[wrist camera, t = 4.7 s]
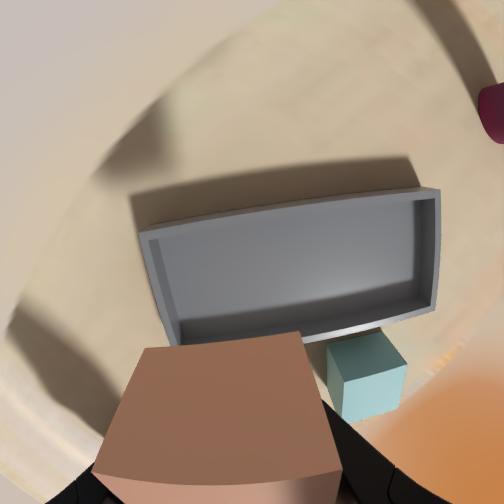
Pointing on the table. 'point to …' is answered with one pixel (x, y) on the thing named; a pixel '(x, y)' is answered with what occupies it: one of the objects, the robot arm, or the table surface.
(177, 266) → the tray
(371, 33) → the table surface
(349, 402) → the teal block
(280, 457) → the terracotta block
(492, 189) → the table surface
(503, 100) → the cup
